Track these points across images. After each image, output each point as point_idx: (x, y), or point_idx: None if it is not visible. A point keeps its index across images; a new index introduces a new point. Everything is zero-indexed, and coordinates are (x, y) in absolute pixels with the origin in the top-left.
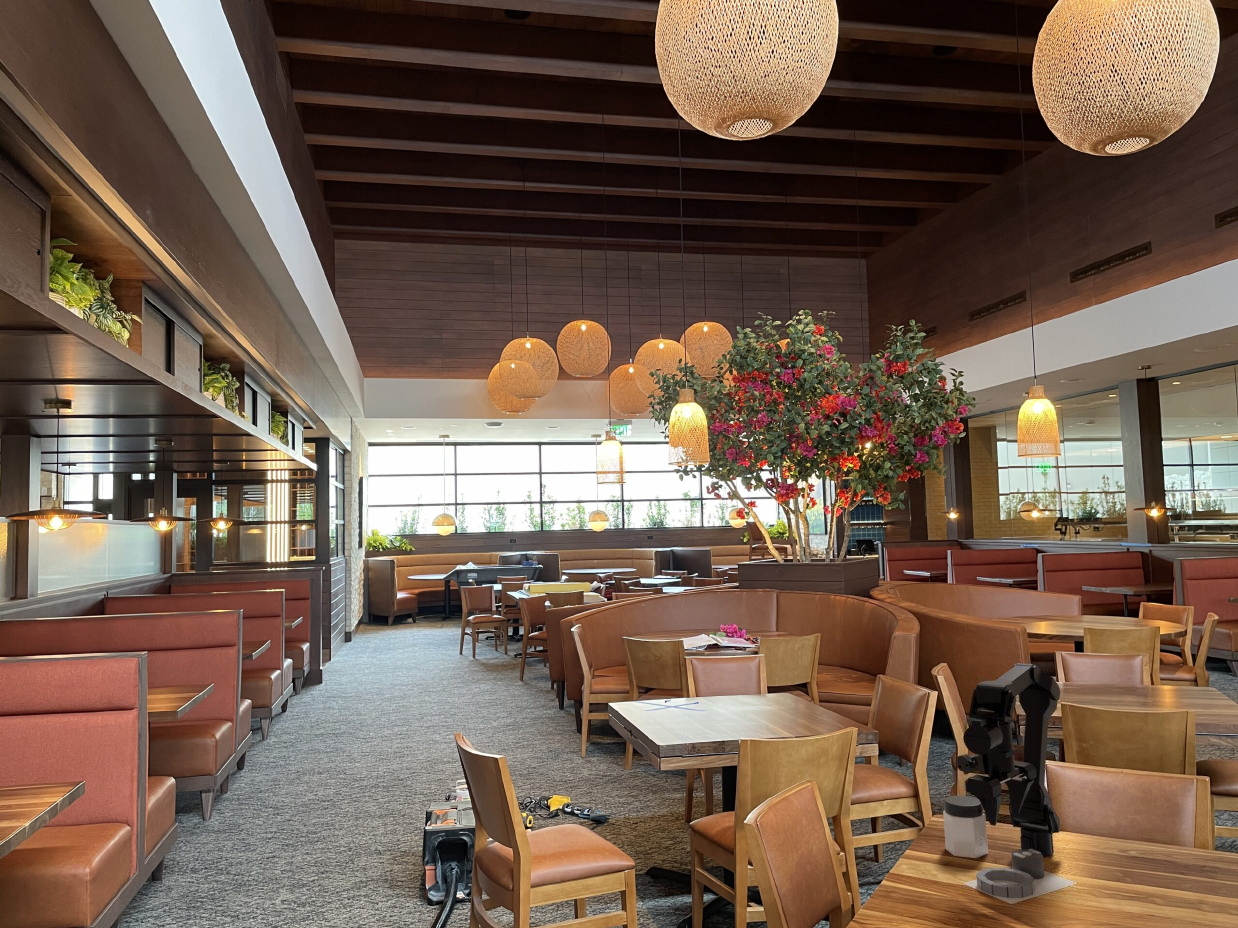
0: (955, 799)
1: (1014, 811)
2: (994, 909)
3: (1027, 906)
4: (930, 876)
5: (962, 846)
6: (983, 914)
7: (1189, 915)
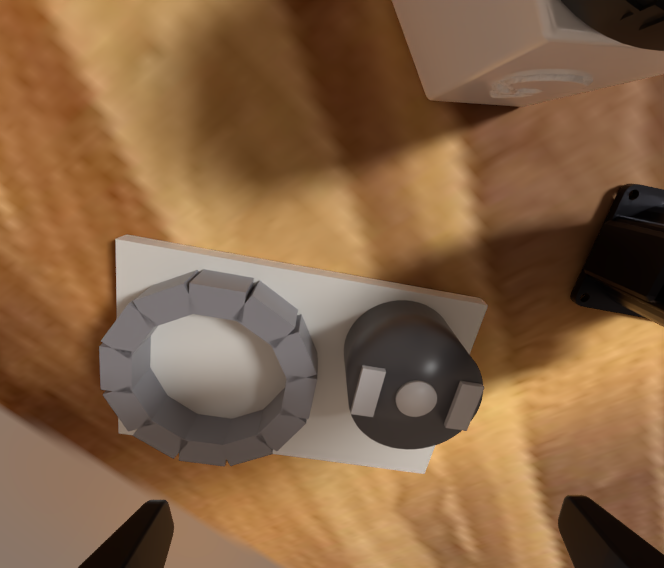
0: None
1: (575, 524)
2: (79, 393)
3: None
4: (106, 47)
5: (421, 14)
6: (18, 392)
7: None
